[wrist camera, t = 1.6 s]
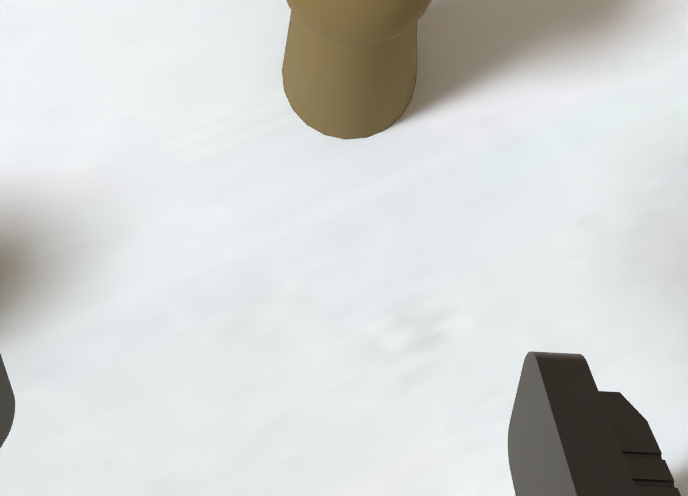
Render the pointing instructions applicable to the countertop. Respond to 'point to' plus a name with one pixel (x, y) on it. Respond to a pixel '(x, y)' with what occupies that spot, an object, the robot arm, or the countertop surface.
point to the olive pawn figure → (351, 63)
